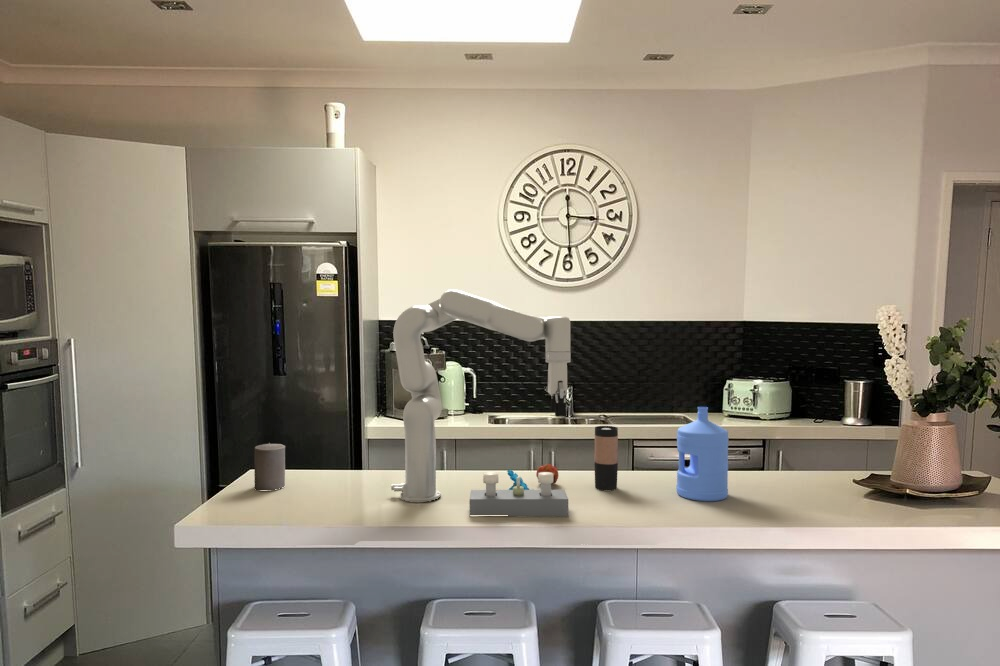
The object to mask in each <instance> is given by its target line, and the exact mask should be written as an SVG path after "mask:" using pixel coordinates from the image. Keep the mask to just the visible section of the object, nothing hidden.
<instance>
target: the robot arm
mask: <svg viewBox="0 0 1000 666" xmlns="http://www.w3.org/2000/svg"><path fill="white" fill-rule="evenodd" d="M456 320H460V321H464V322H466V323H468V324H469V323H470V324H472V325H476V326H478V327H482V328H485V329H488V330H490V331H496V332H498V333H501V334H503V335H507V336H511V337H513V338H516V339H518V340H522V341H526V342H536V341H539V340H545V363H548V369H547V393H548V394H549V395H550V396H551V399H550V411H551V412H553V413H554V415H555V417H566V416H567V400H566V396H567V394H568V365H567V364H568V363H571V320H570V318H569V317H567V316H547V317H544V316H538V315H537V316H536V315H529V314H526V313H523V312H519V311H516V310H515V309H514V310H513V309H511V308H508V307H506V306H503V305H501V304H500V303H498V302H496V301H493V300H489V299H487V298H483V297H480V296H477V295H474V294H471V293H469V292H466V291H463V290H458V289H454V288H453V289H448V290H446V291H444V292H443V293H442V295H441V296H440V297H439V298H438V299H436V300H434V301H432V302H429V303H428V304H426V305H422V304H419V305H418V304H417V305H412V306H410V307H407V309H405V310H404V311H402V312H401V314H400V315H399V316H398V317H397V318H396V320H395V323H394V325H393V326H394V327H393V337H392V338H393V344H394V349H395V354H396V362H397V367H398V374H399V379H400V384H401V386H402V388H403V389H404V390H405V391H406V392H409V393H410V395H411V399H409V401H408V402H407V403H406V405H405V406H404V409H403V411H402V413H403V415H402V418H403V419H402V421H403V427H404V448H405V451H404V453H405V454H404V455H405V456H404V458H405V459H404V461H405V462H404V463H405V465H404V467H405V469H404V470H405V471H404V473H405V475H404V477H405V481H404V482H401V483H400V484H398V483H391V486H390V487H391V491H393V492H401V493H400V495H399V496H400V497H401V498H400V499H401V500H402V499H403V500H402V501H404V500H405V501H404V502H408V501H410V502H409V503H426V502H425V501H429V502H432V501H431V500H434V501H436V500H435V499H437V500H438V498H439V497H440V496H441V497H442V494H441V493H442V492H441V491H440V490H437V441H436V440H437V438H436V437H437V435H436V428H435V427H436V425H435V421H436V420H437V419H438V418H439V417H440V416H441V414H442V411H443V406H442V405H443V403H442V398H441V397H442V396H441V392H440V385H439V381H438V375H437V372H436V370H435V367H434V366H433V365H432V364H431V363H430V362H428V361H426V357H425V353H424V351H425V350H424V346H423V343H422V340H421V335H422V333H429V332H433V331H435V330H437V329H439V328H441V327H443V326H445V325H447V324H450V323H452V322H454V321H456ZM441 497H440V498H441ZM440 498H439V499H440ZM411 501H412V502H411Z"/></svg>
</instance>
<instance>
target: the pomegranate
mask: <svg viewBox="0 0 1000 666" xmlns="http://www.w3.org/2000/svg"><path fill="white" fill-rule="evenodd" d="M541 472H550V473H553V483H551V484H552V485H555V484H556V483H557V481H558V479H559V470H558V468H557V467H556V466H554V465H553V464H551V463H545V464H543V465H540V466H538V468H537V470H536V475H535V476H536V478H537V479H538V473H541Z"/></svg>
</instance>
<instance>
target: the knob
mask: <svg viewBox="0 0 1000 666" xmlns="http://www.w3.org/2000/svg"><path fill="white" fill-rule="evenodd" d="M482 475H483V476H482V477H483V479H482V481H483V484H485V490H486V496H496V490H497V488H496V487H497V486H496V485H497V484H498V483H499V473H498V472H495V471H487V472H483V474H482Z"/></svg>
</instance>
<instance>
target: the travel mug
mask: <svg viewBox="0 0 1000 666" xmlns="http://www.w3.org/2000/svg"><path fill="white" fill-rule="evenodd" d="M618 432H619V428H618V426H612V425H598V426H595V427H594V457H593V458H594V459H593V460H594V462H593V463H594V464H593V465H594V488H595V489H596V490H598V489H599V491H604V490H611V491H615V490H617V489H616V488H618V471H619V470H618V468H619V467H618V465H619V460H618V459H619V456H618V455H619V448H618V447H619V441H618V439H619V437H618V436H619V434H618ZM614 489H615V490H614Z"/></svg>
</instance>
